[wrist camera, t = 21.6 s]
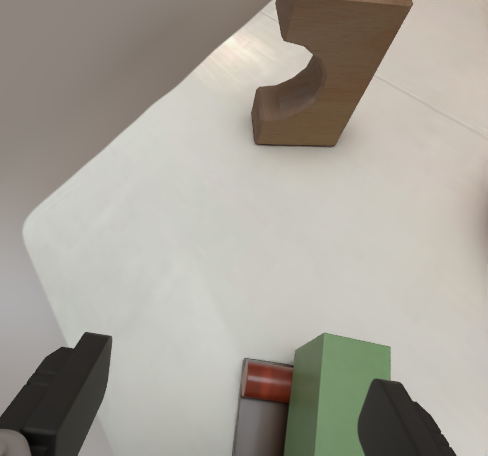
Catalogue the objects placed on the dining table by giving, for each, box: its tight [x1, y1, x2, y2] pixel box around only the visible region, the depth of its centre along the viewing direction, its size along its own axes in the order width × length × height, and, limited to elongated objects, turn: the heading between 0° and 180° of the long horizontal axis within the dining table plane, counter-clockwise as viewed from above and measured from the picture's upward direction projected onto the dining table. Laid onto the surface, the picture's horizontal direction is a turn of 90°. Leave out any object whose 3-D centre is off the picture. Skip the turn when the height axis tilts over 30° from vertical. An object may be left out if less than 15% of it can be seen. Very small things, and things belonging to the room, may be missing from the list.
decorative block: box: [251, 0, 413, 146], centre depth 42 cm, size 11×6×20 cm, turn 94°
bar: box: [284, 333, 390, 456], centre depth 28 cm, size 5×14×8 cm, turn 170°
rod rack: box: [232, 358, 294, 456], centre depth 33 cm, size 12×12×4 cm
